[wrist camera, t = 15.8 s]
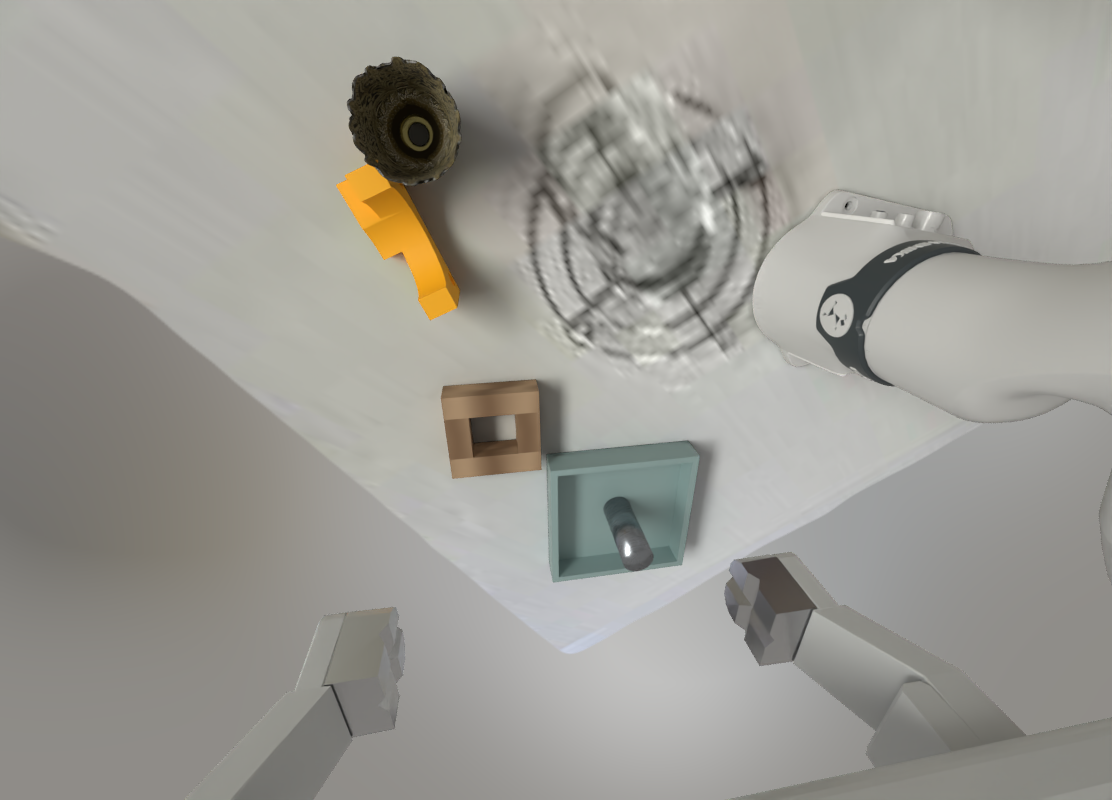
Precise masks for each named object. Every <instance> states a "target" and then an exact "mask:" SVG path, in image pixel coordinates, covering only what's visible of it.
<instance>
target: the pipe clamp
mask: <svg viewBox="0 0 1112 800" xmlns="http://www.w3.org/2000/svg"><path fill="white" fill-rule="evenodd" d="M375 161H376V162H377V163H378V160H375ZM345 177H346V179H347V180H345V181H343V182H341V183H339V184H337V185H336V186H337V188H338V189H339V191H340V193H341V194H342V196H343V198H344V199H345V201H346V203H347V204H348V206H349V208H350V209H351V211H352V213H353V214H354V216H355V218H356V219H357V221H358V222H359V224H360V226H361V227H362V229H363V230H364V231H365V233H366V234H367V235H368V236H369V238H370V239H371V241H372V242H373V243H374V245H375V246H376V248H377V249H378V251H379V253H380V254H381V256H382V258H383V259H384V260H385V259H387V258H389V257H392V256H394V255H396V254H398V253H400V252H402V253H403V255H404V257H405V259H406V261H407V263H408V265H409V267H410V269H411V271H412V274H413V276H414V279H415V282H416V285H417V288H418V294H419V299H418V301H419V302H420V304H421V306H422V308H423V309H424V311H425V313H426V314H427V316H428V318H429V319H430V320H432V319H434V318H436V317H438V316H441V315H443V314H445V313H447V312H449V311H451V310H453V309H456V308H457V306H458V300H459V294H460V290H459V288H458V286H457V284H456V282H455V280H454V278H453V277H452V275H451V273H450V271H449V269H448V267H447V265H446V263H445V262H444V260H443V258H442V256H441V254H440V252H439V250H438V248H437V247H436V245H435V243H434V241H433V239H432V237H431V235H430V233H429V232H428V230H427V228H426V226H425V224H424V222H423V220H422V218H421V217H420V215H419V213H418V211H417V209H416V207H415V205H414V203H413V202H412V200H411V198H410V196H409V194H408V192H407V190H406V189H405V187H404V185H403V184H402V183H397V182H392V181H389V180H387V179H385V178H384V177H383V176H382V175H381V174H380V173H379V172H378V171H377V169H376V168H375V167H373V166H370V165H368V164H367V165H365V166H363V167H361V168H359V169H357V170H355V171H353V172H351V173H349V174H347V175H345Z"/></svg>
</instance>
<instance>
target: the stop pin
mask: <svg viewBox="0 0 1112 800" xmlns="http://www.w3.org/2000/svg"><path fill="white" fill-rule="evenodd" d="M603 511H604V514H605V517H606V519H607V522H608V525H609V527H610V530H611V533H612V535H613V538H614V541H615V543H616V546H617V549H618V551H619V554H620V557H621V560H622V562H623V565H624V567H625V568H626V569H627V570H630V571H640V570H643V569H645V568H647V567H648V566H649V565H650V564H651V563H652V561H653V558H654V555H653V552H652V550H651V548H650V546H649V544H648V542H647V539H646V537H645V535H644V533H643V531H642V529H641V526H640V524H639V522H638V520H637V518H636V516H635V513H634V511H633V509H632V507H631V505H630V503H629V501H628V500H627V499H626V498H624V497H614V498H611V499H610V500H608V501H607V502H606V503H605V505H604V508H603Z"/></svg>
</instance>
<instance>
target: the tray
mask: <svg viewBox="0 0 1112 800" xmlns="http://www.w3.org/2000/svg"><path fill="white" fill-rule="evenodd" d="M546 455H547V496H548V537H549V564H550V570H551V575H552V581H553V582H560V581H568V580H575V579H582V578H590V577H597V576H605V575H612V574H619V573H627V572H634V571H630V570H627V569H626V568H625V567H624V565H623V562H622V560H621V557H620V554H619V551H618V549H617V546H616V543H615V541H614V538H613V535H612V533H611V530H610V527H609V525H608V522H607V519H606V517H605V514H604V511H603V508H604V505H605V503H606V502H607V501H608V500H610V499H611V498H614V497H624V498H626V499H627V500H628V501H629V503H630V505H631V507H632V509H633V511H634V513H635V516H636V518H637V520H638V522H639V524H640V526H641V529H642V531H643V533H644V535H645V537H646V539H647V542H648V544H649V546H650V548H651V550H652V552H653V555H654V558H653V561H652V563H651V564H650V565H649V566H648V567H647V568H645V569H643V570H649V569H656V568H663V567H671V566H678V565H682V562H683V556H684V550H685V544H686V538H687V532H688V525H689V519H690V513H691V507H692V501H693V495H694V489H695V483H696V477H697V471H698V465H699V459H700V456H699V454H698V453H697V452H696V451H695V449H694V448H693V447H692V445H691V444H690V443H689V442H688V441H679V442H669V443H658V444H648V445H638V446H627V447H617V448H606V449H596V450H586V451H575V452H565V453H555V454H546ZM640 571H641V570H640Z"/></svg>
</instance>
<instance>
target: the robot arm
mask: <svg viewBox="0 0 1112 800" xmlns="http://www.w3.org/2000/svg"><path fill="white" fill-rule="evenodd" d="M846 203H847V207H846V208H845V204H846ZM752 303H753V313H754V317H755V320H756V323H757V325H758V327H759V328H760V330H761V331H762V333H763V334H764V335H765V336H766V337H767V338H768V339H770V340H771V341H772V342H774V343H775V344H776V345H778V346H779V348H780V349H781V352H782V354H783V357H784V359H785V360H786V362H787V363H788V364H790V365H793V366H795V367H800V366H804V365H808V364H813V365H815V366H818V367H820V368H822V369H825V370H827V371H829V372H831V373H834V374H836V375H839V376H846V375H847V374H852V373H857V374H858V375H860V376H862V377H864V378H866V379H869V380H871V381H874V382H878V383H880V384H883V385H887V386H896V387H898V388H900V389H902V390H904V391H906V392H908V393H910V394H912V395H914V396H916V397H918V398H920V399H922V400H924V401H926V402H928V403H930V404H932V405H934V406H936V407H938V408H940V409H942V410H944V411H946V412H948V413H950V414H952V415H954V416H956V417H958V418H961V419H963V420H967V421H972V422H978V423H1002V422H1014V421H1021V420H1025V419H1030V418H1033V417H1036V416H1039V415H1042V414H1044V413H1047V412H1049V411H1051V410H1053V409H1055V408H1057V407H1059V406H1061V405H1063V404H1064V403H1066V402H1068V401H1069V400H1071V399H1073V400H1077V401H1081V402H1085V403H1088V404H1092V405H1094V406H1097V407H1099V408H1101V409H1103V410H1104V411H1106V412H1108V413H1109V414H1111V415H1112V261H1107V262H1101V263H1092V264H1078V265H1070V264H1053V263H1040V262H1030V261H1021V260H1011V259H1003V258H996V257H988V256H982V255H981V254H979V253H978V252H976V251H974V248H973V245H972V243H971V242H970V241H969V240H967V239H963V238H958V237H953V228H952V221H951V218H950V217H949V216H947V215H945V214H943V213H938V212H932V211H927V210H923V209H919V208H915V207H910V206H906V205H902V204H898V203H894V202H889V201H885V200H881V199H877V198H873V197H868V196H864V195H860V194H856V193H851V192H847V191H843V190H834V191H832V192H830V193H829V194H828V195H827V196H826V197H825V198H824V199H823V200H822V201H821V202H820V204H819V205H818V206H817V208H816V209H815V210H814V212H813V213H812V214H811V215H810V216H809V217H808V218H807V219H806V220H804V221H803V222H802V223H800V224H799V225H797V226H796V227H794V228H793V229H791V230H790V231H789V232H788V233H787V234H785V235H784V236H783V237H782V238H781V239H780V240H779V241H778V242H777V243H776V245H775V246H774V247H773V248H772V250H771V251H770V252H769V254H768V255H767V257H766V258H765V260H764V262H763V264H762V266H761V268H760V270H759V272H758V275H757V278H756V281H755V285H754V290H753V302H752ZM1099 522H1100V534H1101V544H1102V550H1103V555H1104V561H1105V566H1106V571H1107V575H1108V578H1109V580H1110V582H1111V584H1112V470H1111V474H1110V477H1109V480H1108V483H1107V486H1106V489H1105V493H1104V496H1103V499H1102V502H1101V506H1100V510H1099ZM729 571H730V573H731V575H732V576H733V577H732V578H731V579H730V580H729V581H728V582H727V583H726V587H725V593H724V594H725V600H726V605H727V608H728V611H729V614H730V615H731V617H732V619H733V621H734V622H735V623H736V624H737V625H738V626H740V627H741V628H743V629H744V630H745V638H744V640H745V642H746V643H747V645H748V647H749V649H750V650H751V652H752V654H753V655H754V657H755V659H756V661H757V662H758V664H759V666H764V665H771V664H777V663H785V662H792V661H794V663H793V664H795V665H796V666H797V667H798V668H799V669H801V670H802V671H803V672H804V673H806V674H807V675H808V676H809V677H811V678H812V679H813V680H814V681H816V682H817V683H818V684H819V685H820V686H822V687H823V688H824V689H825V690H826V691H828V692H829V693H830V694H831V695H833V696H834V697H835V698H836V699H837V700H839V701H840V702H841V703H842V704H844V705H845V706H846V707H847V708H848V709H850V710H851V711H852V712H853V713H855V714H856V715H857V716H858V717H859V718H861V719H862V720H863V721H864V722H866V723H867V724H868V725H869V726H870V727H872V728H873V729H874V730H875V731H876V732H875V734H874V736H873V737H872V739H871V741H870V743H869V744H868V746H867V751H866V755H867V756H868V758H869V759H870V761H871V762H872V764H873V765H874V767H875V768H872V769H868V770H863V771H859V772H854V773H849V774H844V775H840V776H836V777H831V778H826V779H821V780H817V781H812V782H808V783H803V784H797V785H793V786H788V787H783V788H779V789H774V790H769V791H765V792H760V793H756V794H751V795H746V796H741V797H737V798H732V799H727V800H1112V718H1107V719H1102V720H1098V721H1093V722H1088V723H1083V724H1079V725H1074V726H1069V727H1065V728H1060V729H1056V730H1051V731H1046V732H1042V733H1037V734H1032V735H1026V734H1024V732H1023V731H1022V730H1021V729H1020V728H1019V727H1018V726H1017V725H1016V724H1015V723H1014V722H1013V721H1012V720H1011V719H1010V718H1009V717H1008V716H1007V715H1006V714H1005V713H1004V712H1003V711H1002V710H1001V709H1000V708H999V707H998V706H997V705H996V704H995V703H994V702H993V701H992V700H991V699H990V698H989V697H988V696H987V695H986V694H985V693H984V692H983V691H982V690H981V689H980V688H979V687H978V686H977V685H976V683H975V682H974V681H973V680H972V679H971V678H970V677H969V676H968V675H967V674H966V673H965V672H964V671H962V670H960V669H959V668H957V667H955V666H953V665H952V664H950V663H948V662H946V661H944V660H943V659H941V658H939V657H937V656H935V655H933V654H932V653H930V652H928V651H926V650H925V649H923V648H921V647H919V646H917V645H916V644H914V643H912V642H910V641H909V640H907V639H905V638H903V637H901V636H900V635H898V634H896V633H894V632H892V631H891V630H889V629H887V628H885V627H883V626H882V625H880V624H878V623H876V622H875V621H873V620H871V619H869V618H867V617H866V616H864V615H862V614H860V613H858V612H857V611H855V610H853V609H851V608H849V607H848V606H846V605H840V606H839V605H838V604H837V602H836V601H835V600H834V599H833V598H832V597H831V595H830V594H829V593H828V592H827V591H826V590H825V588H824V587H823V586H822V585H821V584H820V583H819V581H818V580H817V579H816V578H815V577H814V575H813V574H812V573H811V572H810V571H809V570H808V568H807V567H806V566H805V565H804V564H803V562H802V561H801V560H800V559H799V558H798V557H797V556H796V555H795V554H793V553H792V552H787V553H780V554H772V555H762V556H756V557H749V558H743V559H736V560H734V561H733V562H732V563H731V565H730V569H729ZM398 620H399V615H398V612H397V609H396V607H390V608H381V609H372V610H363V611H354V612H346V613H339V614H331V615H324V616H323V618H322V619H321V621H320V622H319V624H318V627H317V629H316V632H315V635H314V637H313V640H312V643H311V646H310V649H309V652H308V654H307V657H306V660H305V662H304V665H303V668H302V671H301V673H300V677H299V679H298V682H297V685H296V687H295V690H294V691H291V692H286V694H285V695H284V696H283V697H282V698H281V699H280V700H279V701H278V702H277V703H276V704H275V705H274V706H273V707H272V708H271V709H270V710H269V711H268V712H267V713H266V715H264V717H263V718H262V719H261V720H260V721H259V722H258V723H257V724H256V725H255V726H254V727H253V728H252V729H251V730H250V731H249V732H248V733H247V735H246V736H244V737H243V739H242V740H241V741H240V742H239V743H238V744H237V745H236V746H235V747H234V748H233V749H232V750H231V751H230V752H229V753H228V755H226V756H225V757H224V759H222V761H221V762H220V763H219V764H218V765H217V766H216V767H215V768H214V769H213V770H212V771H211V772H210V773H209V774H208V775H207V776H206V777H205V779H204V780H202V782H201V783H200V784H199V785H198V786H197V787H196V788H195V789H194V790H193V791H192V792H191V793H190V794H189V795H188V796H187V797H186V798H185V799H184V800H313V799H314V798H315V796H316V795H317V793H318V792H319V790H320V789H321V787H322V786H323V784H324V783H325V781H326V780H327V778H328V776H329V775H330V774H331V772H332V771H333V769H334V768H335V766H336V765H337V763H338V762H339V760H340V758H341V757H342V755H343V754H344V752H345V751H346V749H347V748H348V746H349V745H350V743H351V742H352V737H357V736H362V735H367V734H372V733H377V732H382V731H387V730H392V729H394V728H395V721H396V716H397V709H398V702H399V692H398V689H397V685H396V683H397V682H398V680H399V679H400V678H401V677H402V675H403V670H404V662H405V642H404V635H403V631H402V629H400V628H398V627H397V625H398Z"/></svg>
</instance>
